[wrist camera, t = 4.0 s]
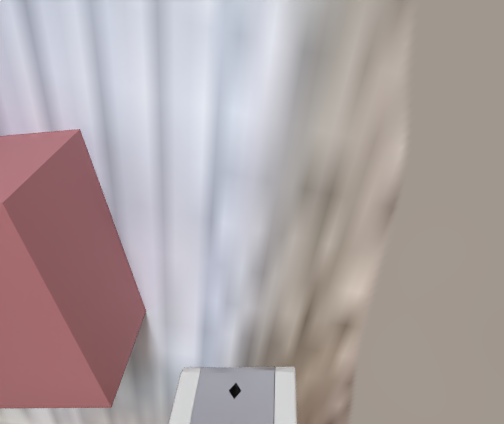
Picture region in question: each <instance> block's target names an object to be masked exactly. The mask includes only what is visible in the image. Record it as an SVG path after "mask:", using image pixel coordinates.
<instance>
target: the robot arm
mask: <svg viewBox="0 0 504 424" xmlns="http://www.w3.org/2000/svg"><path fill="white" fill-rule="evenodd" d="M169 424H298V409H297V392H296V375H295V366H294V367H275V366H267V367H239V368H215V367H184V368H183V370H182V372H181V374H180V378H179V383H178V387H177V391H176V395H175V399H174V403H173V407H172V411H171V416H170V420H169Z"/></svg>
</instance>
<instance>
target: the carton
mask: <svg viewBox="0 0 504 424" xmlns="http://www.w3.org/2000/svg"><path fill="white" fill-rule="evenodd" d="M145 312H146V310H145V307H144V304H143V301H142V299H141V296H140V293H139V290H138V288H137V285H136V282H135V280H134V277H133V274H132V271H131V269H130V266H129V263H128V260H127V258H126V255H125V252H124V249H123V247H122V244H121V241H120V238H119V236H118V233H117V230H116V227H115V225H114V222H113V219H112V216H111V214H110V211H109V208H108V205H107V203H106V200H105V197H104V194H103V192H102V189H101V186H100V183H99V181H98V178H97V175H96V172H95V170H94V167H93V164H92V161H91V159H90V156H89V153H88V150H87V148H86V145H85V142H84V140H83V137H82V134H81V131H80V129H77V130H65V131H54V132H42V133H30V134H19V135H7V136H0V408H107V407H112V404H113V401H114V399H115V396H116V393H117V390H118V388H119V385H120V382H121V379H122V376H123V374H124V371H125V368H126V365H127V362H128V360H129V357H130V354H131V351H132V349H133V346H134V343H135V340H136V337H137V335H138V332H139V329H140V326H141V324H142V321H143V318H144V315H145Z"/></svg>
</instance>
